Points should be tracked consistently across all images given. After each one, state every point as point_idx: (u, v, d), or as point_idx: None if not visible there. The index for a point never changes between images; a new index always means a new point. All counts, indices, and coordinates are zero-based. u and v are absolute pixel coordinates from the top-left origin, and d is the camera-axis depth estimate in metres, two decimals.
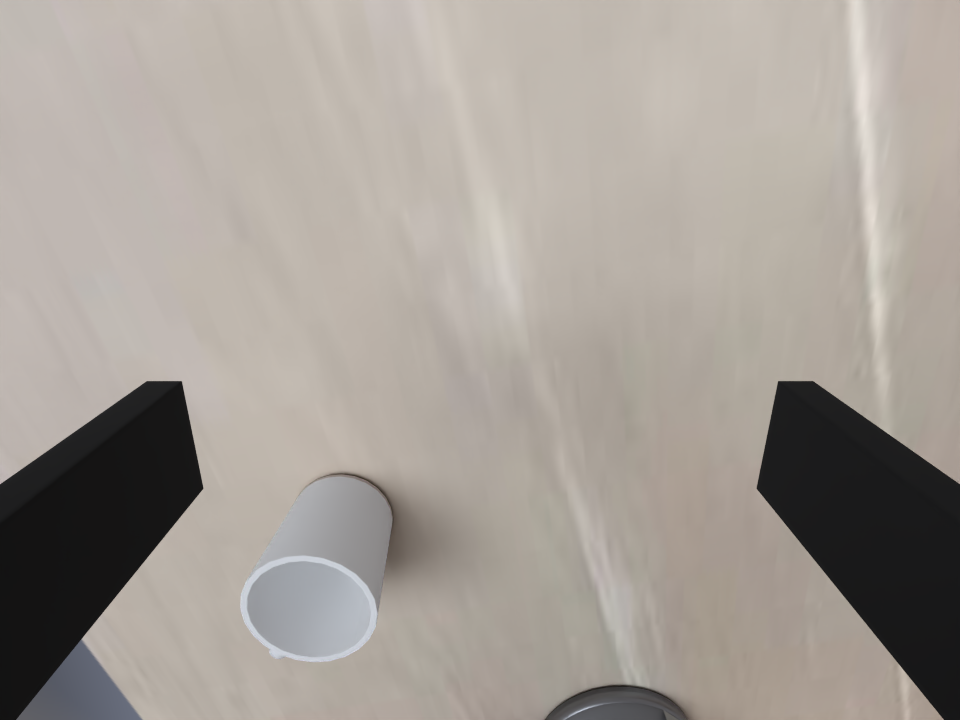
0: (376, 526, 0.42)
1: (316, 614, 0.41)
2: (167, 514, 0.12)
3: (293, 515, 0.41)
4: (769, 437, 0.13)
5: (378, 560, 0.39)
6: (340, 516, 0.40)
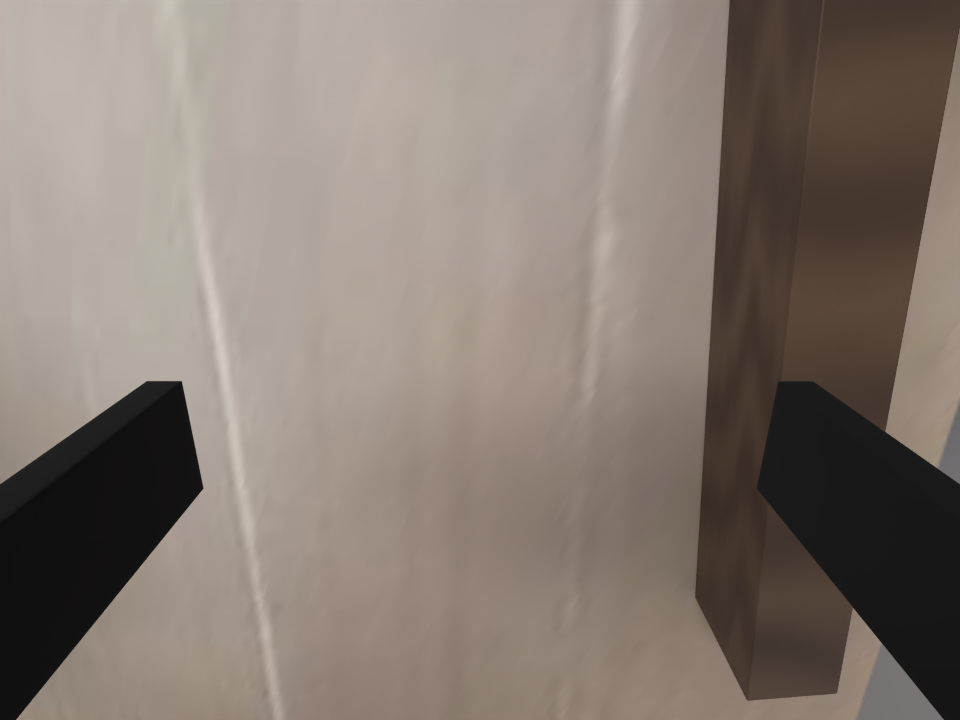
0: None
1: None
2: (167, 513, 0.12)
3: None
4: (769, 438, 0.13)
5: None
6: None
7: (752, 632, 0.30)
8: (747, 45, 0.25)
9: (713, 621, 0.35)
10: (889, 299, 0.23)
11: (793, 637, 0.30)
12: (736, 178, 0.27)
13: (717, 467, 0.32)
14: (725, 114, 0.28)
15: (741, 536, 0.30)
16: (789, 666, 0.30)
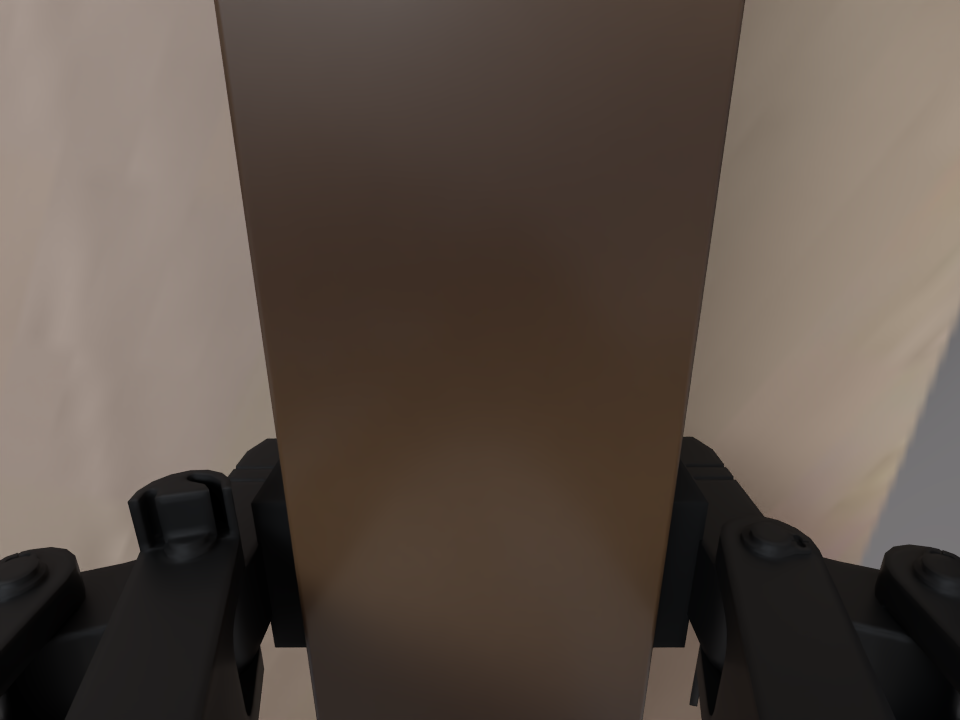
0: None
1: None
2: None
3: None
4: None
5: None
6: None
7: (309, 643, 0.08)
8: None
9: None
10: None
11: (452, 673, 0.08)
12: None
13: None
14: None
15: None
16: None
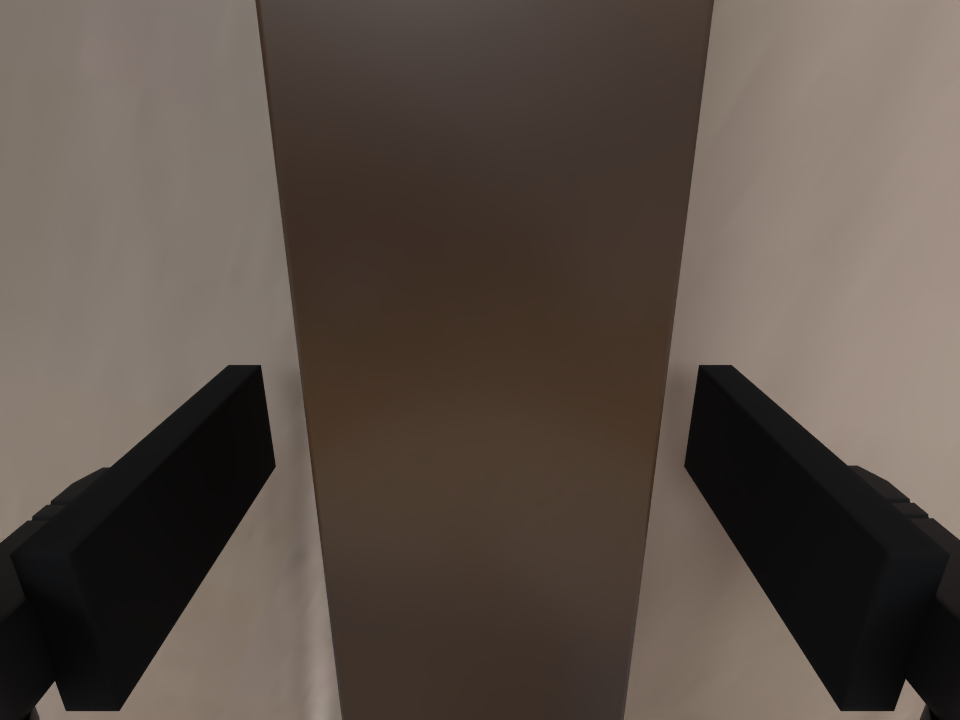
0: None
1: None
2: (250, 487, 0.12)
3: None
4: (693, 418, 0.14)
5: None
6: None
7: (327, 576, 0.09)
8: None
9: None
10: None
11: (458, 603, 0.09)
12: None
13: None
14: None
15: None
16: (461, 700, 0.10)
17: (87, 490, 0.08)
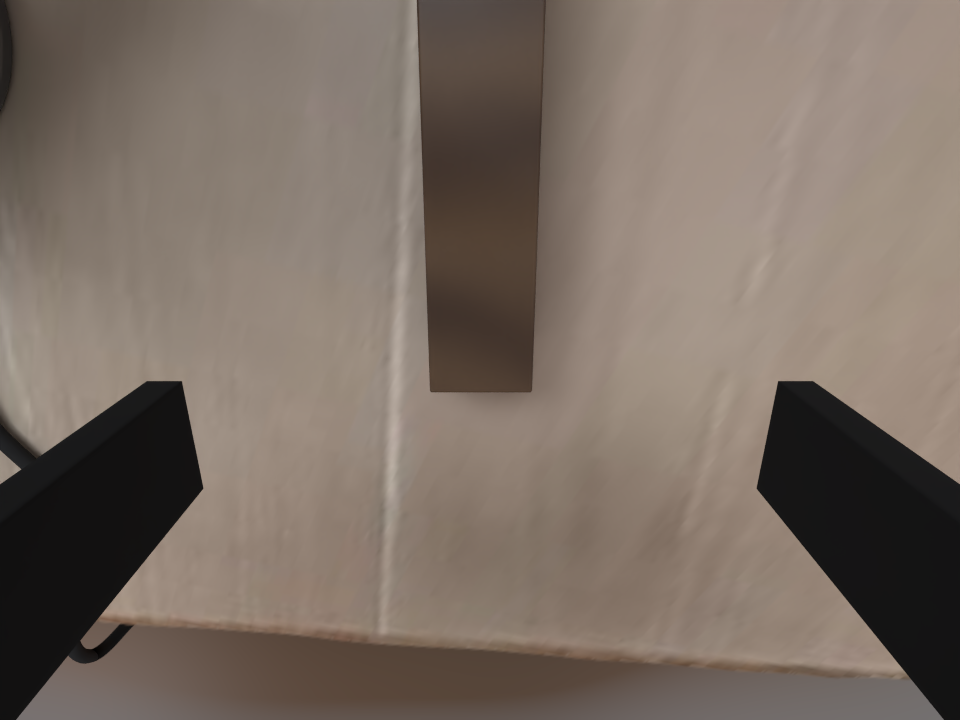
0: None
1: None
2: (166, 513, 0.12)
3: None
4: (769, 437, 0.13)
5: None
6: None
7: (427, 295, 0.26)
8: None
9: None
10: None
11: (472, 304, 0.26)
12: None
13: None
14: None
15: None
16: (473, 347, 0.27)
17: None
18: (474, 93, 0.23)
